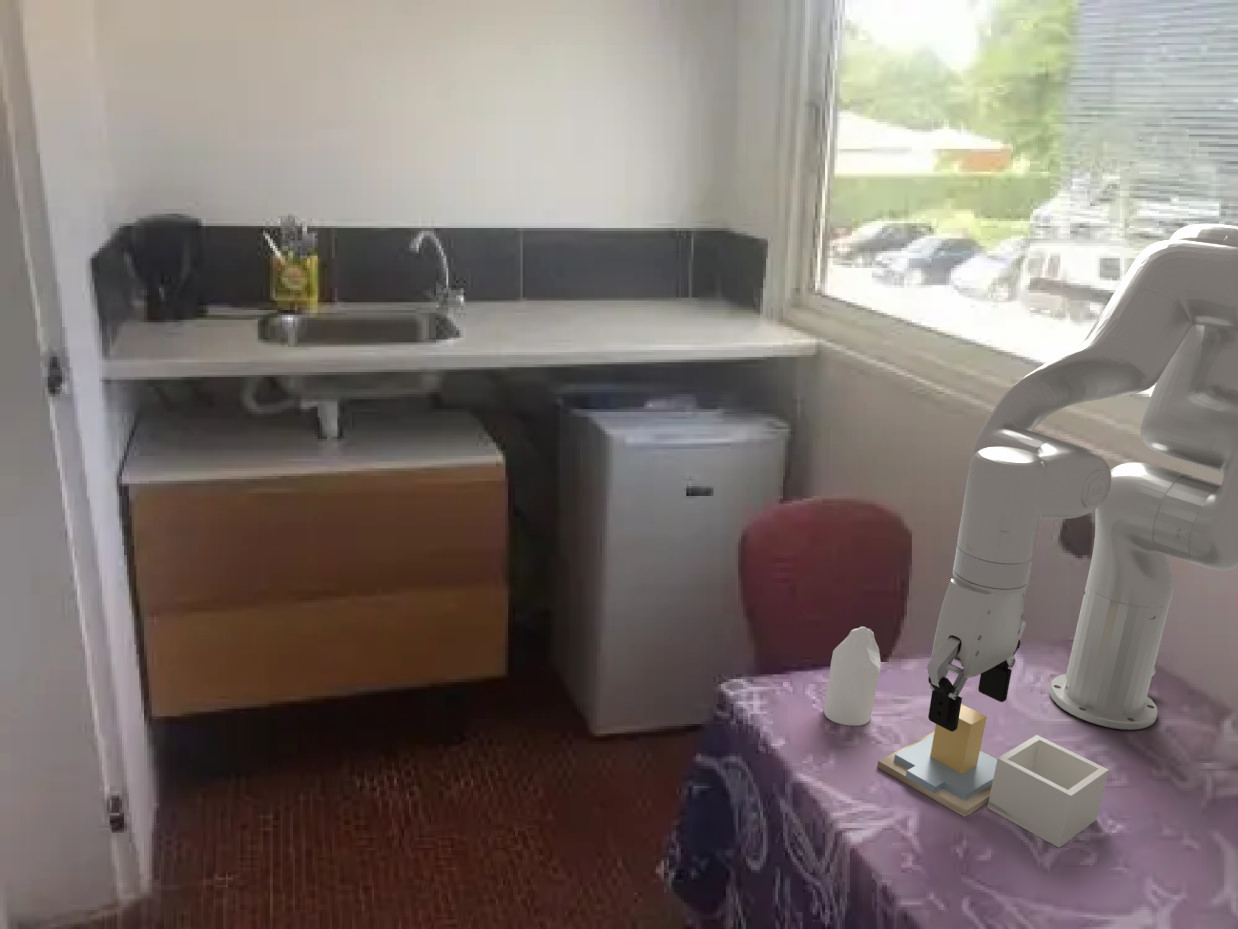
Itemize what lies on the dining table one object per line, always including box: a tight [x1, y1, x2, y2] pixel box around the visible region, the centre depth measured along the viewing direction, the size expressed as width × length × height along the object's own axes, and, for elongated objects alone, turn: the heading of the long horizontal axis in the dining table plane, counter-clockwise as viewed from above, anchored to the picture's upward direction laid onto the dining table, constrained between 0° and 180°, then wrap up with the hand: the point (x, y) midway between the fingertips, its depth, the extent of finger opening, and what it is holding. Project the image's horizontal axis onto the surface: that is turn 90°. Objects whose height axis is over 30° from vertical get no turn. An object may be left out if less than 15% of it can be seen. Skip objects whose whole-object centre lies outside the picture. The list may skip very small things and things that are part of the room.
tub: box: [986, 734, 1109, 848], centre depth 112 cm, size 8×8×6 cm
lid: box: [894, 703, 997, 801], centre depth 117 cm, size 11×9×7 cm
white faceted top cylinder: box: [823, 626, 882, 727], centre depth 128 cm, size 6×12×6 cm
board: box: [876, 730, 999, 818], centre depth 119 cm, size 12×11×1 cm
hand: (967, 710), depth 117 cm, fingers open, 9 cm apart
